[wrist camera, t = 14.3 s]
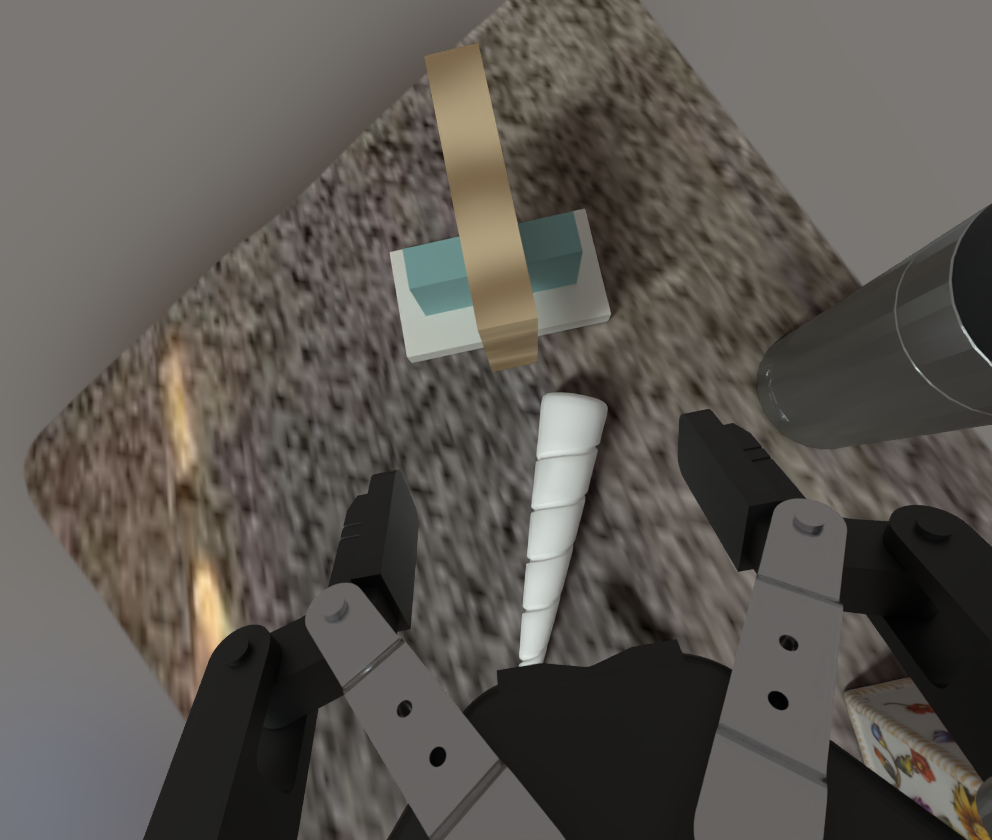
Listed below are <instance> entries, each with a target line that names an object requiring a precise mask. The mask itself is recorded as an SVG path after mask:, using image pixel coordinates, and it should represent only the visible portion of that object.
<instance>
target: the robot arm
mask: <svg viewBox="0 0 992 840" xmlns="http://www.w3.org/2000/svg"><path fill="white" fill-rule="evenodd" d="M757 391H758V397H759V401H760V403H761V406H762V408H763V411H764V413H765V414H766V416H767V417H768V419H769V420H770V422H771V423H772V424H773V425H774V426H775V427H776V428H777V429H778V430H779V431H780V432H781V433H782V434H784V435H786V436H787V437H789V438H790V439H792V440H793V441H795V442H798V443H800V444H803V445H805V446H809V447H814V448H819V449H837V448H843V447H849V446H856V445H862V444H869V443H877V442H883V441H890V440H896V439H903V438H909V437H915V436H922V435H928V434H935V433H941V432H947V431H954V430H960V429H967V428H973V427H979V426H985V425H992V204H990V205H989V206H987V207H985V208H984V209H982V210H981V211H979V212H978V213H976V214H974V215H973V216H971V217H970V218H968V219H967V220H965V221H964V222H962V223H961V224H959V225H957V226H956V227H954V228H953V229H951V230H949V231H948V232H946V233H945V234H943V235H942V236H940V237H939V238H937V239H935V240H934V241H932V242H931V243H930V244H928V245H927V246H925V247H924V248H922V249H920V250H919V251H917V252H916V253H914V254H913V255H911V256H909V257H908V258H906V259H905V260H903V261H902V262H900V263H899V264H897V265H895V266H894V267H892V268H891V269H889V270H888V271H886V272H885V273H883V274H881V275H880V276H878V277H877V278H875V279H874V280H872V281H870V282H869V283H867V284H866V285H864V286H863V287H861V288H860V289H858V290H856V291H855V292H853V293H852V294H850V295H849V296H847V297H845V298H844V299H842V300H841V301H839V302H838V303H836V304H835V305H833V306H831V307H830V308H828V309H827V310H825V311H824V312H822V313H821V314H819V315H817V316H816V317H814V318H812V319H811V320H809V321H808V322H806V323H805V324H803V325H801V326H800V327H798V328H797V329H795V330H794V331H792V332H791V333H789V334H788V335H786V336H785V337H783V338H782V339H780V340H779V341H777V342H776V343H775V344H774V345H773V346H772V347H771V348H770V349H769V350H768V351H767V353H766V354H765V356H764V358H763V360H762V362H761V364H760V367H759V371H758V374H757ZM678 463H679V467H680V471H681V473H682V476H683V478H684V480H685V481H686V483H687V485H688V487H689V488H690V490H691V492H692V493H693V495H694V497H695V499H696V500H697V502H698V504H699V505H700V507H701V509H702V511H703V512H704V514H705V516H706V517H707V519H708V521H709V523H710V524H711V526H712V528H713V529H714V531H715V533H716V535H717V536H718V538H719V540H720V541H721V543H722V545H723V547H724V548H725V550H726V552H727V553H728V555H729V557H730V559H731V560H732V562H733V564H734V565H735V567H736V569H737V571H738V572H739V571H745V570H751V569H754V570H755V572H756V573H757V576H756V580H755V584H754V587H753V591H752V595H751V599H750V603H749V607H748V611H747V615H746V619H745V623H744V627H743V631H742V634H741V638H740V642H739V646H738V650H737V654H736V658H735V662H734V666H733V670H732V669H730V668H728V667H727V666H725V665H723V664H720V663H718V662H716V661H714V660H711V659H707V658H704V657H701V656H697V655H692V654H685V653H682V651H681V649H680V646H679V644H678V641H677V639H676V640H670V641H664V642H658V643H653V644H647V645H641V646H635V647H631V648H629V649H627V650H625V651H623V652H620V653H618V654H616V655H614V656H612V657H610V658H608V659H606V660H604V661H601V662H599V663H597V664H595V665H593V666H590V667H578V666H567V665H556V664H546V663H538V664H532V665H526V666H520V667H515V668H509V669H503V670H497V679H498V685H496V686H494V687H492V688H490V689H489V690H487V691H486V692H484V693H483V694H481V695H480V696H479V697H477V698H476V699H475V700H474V701H473V702H472V703H471V704H470V705H469V706H468V707H467V708H466V709H465V710H464V711H463V713H462V712H461V711H460V709H459V708H458V707H457V706H456V704H455V703H454V702H453V701H452V699H451V698H450V697H449V696H448V694H447V693H446V692H445V691H444V689H443V688H442V687H441V686H440V684H439V683H438V682H437V681H436V679H435V678H434V677H433V676H432V674H431V673H430V672H429V671H428V669H427V668H426V667H425V666H424V664H423V663H422V662H421V661H420V659H419V658H418V657H417V656H416V654H415V653H414V652H413V651H412V649H411V648H410V647H409V646H408V644H407V643H406V642H405V641H404V640H403V639H400V638H399V637H398V636H397V632H398V631H404V630H409V629H411V616H412V604H413V591H414V578H415V565H416V553H417V540H418V515H417V511H416V507H415V504H414V502H413V500H412V497H411V495H410V492H409V490H408V488H407V485H406V483H405V480H404V478H403V476H402V473H401V472H400V471H399V470H394V471H389V472H384V473H378V474H374V475H372V477H371V481H370V485H369V490H368V494H364V495H359V496H357V497H356V499H355V500H354V502H353V503H352V504H351V506H350V507H349V509H348V510H347V514H346V518H345V522H344V528H343V530H342V534H341V541H340V542H339V546H338V550H337V554H336V558H335V562H334V566H333V570H332V574H331V578H330V582H329V586H328V588H327V589H325V590H324V591H322V592H321V593H320V594H319V595H318V596H317V597H316V598H315V599H314V600H313V602H312V603H311V604H310V606H309V608H308V610H307V613H306V615H305V616H303V617H302V618H300V619H298V620H296V621H294V622H292V623H290V624H288V625H286V626H284V627H281V628H279V629H277V630H275V631H273V632H271V633H270V632H269V631H268V630H267V629H266V628H265V627H263V626H261V625H248V626H244V627H242V628H240V629H237V630H236V631H234V632H232V633H231V634H230V635H228V636H227V637H226V638H225V639H224V640H223V641H222V642H221V643H220V644H219V645H218V646H217V647H216V649H215V650H214V652H213V653H212V655H211V657H210V659H209V662H208V665H207V667H206V670H205V673H204V675H203V678H202V681H201V684H200V686H199V689H198V692H197V695H196V697H195V700H194V703H193V705H192V708H191V711H190V714H189V716H188V719H187V722H186V724H185V727H184V730H183V733H182V735H181V738H180V741H179V743H178V746H177V749H176V752H175V754H174V757H173V760H172V762H171V765H170V768H169V771H168V773H167V776H166V779H165V781H164V784H163V787H162V790H161V793H160V795H159V798H158V801H157V803H156V806H155V809H154V812H153V814H152V817H151V820H150V823H149V825H148V828H147V831H146V833H145V836H144V839H143V840H297V837H298V831H299V825H300V819H301V812H302V806H303V800H304V794H305V788H306V782H307V775H308V769H309V763H310V757H311V751H312V745H313V738H314V732H315V726H316V720H317V714H318V708H320V707H322V706H324V705H326V704H328V703H330V702H332V701H333V700H335V699H337V698H339V697H341V696H343V695H345V697H346V699H347V701H348V702H349V704H350V706H351V707H352V709H353V711H354V712H355V714H356V716H357V717H358V719H359V721H360V723H361V724H362V726H363V728H364V729H365V731H366V733H367V734H368V736H369V738H370V739H371V741H372V743H373V744H374V746H375V748H376V749H377V751H378V753H379V754H380V756H381V758H382V759H383V761H384V763H385V764H386V766H387V768H388V769H389V771H390V773H391V775H392V776H393V778H394V780H395V781H396V783H397V785H398V786H399V788H400V790H401V791H402V793H403V795H404V796H405V798H406V800H407V801H408V804H407V806H406V808H405V810H404V811H403V813H402V815H401V816H400V818H399V820H398V822H397V823H396V825H395V827H394V828H393V830H392V832H391V834H390V835H389V837H388V839H387V840H967V839H966V838H965V837H963V836H962V835H960V834H959V833H958V832H956V831H955V830H954V829H952V828H951V827H949V826H948V825H947V824H945V823H944V822H943V821H941V820H940V819H938V818H937V817H936V816H934V815H933V814H932V813H930V812H929V811H927V810H926V809H925V808H923V807H922V806H921V805H919V804H918V803H916V802H915V801H914V800H912V799H911V798H910V797H908V796H907V795H905V794H904V793H903V792H901V791H900V790H899V789H897V788H896V787H894V786H893V785H892V784H890V783H889V782H888V781H886V780H885V779H883V778H882V777H881V776H879V775H878V774H877V773H875V772H874V771H872V770H871V769H870V768H868V767H867V766H866V765H864V764H863V763H861V762H860V761H859V760H857V759H856V758H855V757H853V756H852V755H850V754H849V753H848V752H846V751H845V750H844V749H842V748H841V747H839V746H838V745H837V744H835V743H834V742H833V741H831V740H830V731H831V722H832V712H833V703H834V693H835V684H836V674H837V665H838V655H839V645H840V636H841V626H842V617H843V611H844V612H852V613H860V614H866V615H867V616H868V618H869V619H870V621H871V622H872V624H873V625H874V626H875V628H876V629H877V631H878V632H879V634H880V635H881V636H882V638H883V639H884V641H885V642H886V644H887V645H888V646H889V648H890V649H891V651H892V652H893V654H894V655H895V656H896V658H897V659H898V661H899V662H900V664H901V665H902V666H903V668H904V669H905V671H906V672H907V674H908V675H909V676H910V678H911V679H912V681H913V682H914V684H915V685H916V686H917V688H918V689H919V691H920V692H921V694H922V695H923V696H924V698H925V699H926V701H927V702H928V704H929V705H930V706H931V708H932V709H933V711H934V712H935V714H936V715H937V716H938V718H939V719H940V721H941V722H942V724H943V725H944V726H945V728H946V729H947V731H948V732H949V734H950V735H951V736H952V738H953V739H954V741H955V742H956V744H957V745H958V746H959V748H960V749H961V751H962V752H963V754H964V755H965V756H966V758H967V759H968V761H969V762H970V764H971V765H972V766H973V768H974V769H975V771H976V772H977V774H978V775H979V776H980V778H981V779H982V781H983V783H982V784H981V785H980V787H979V789H978V790H977V794H976V806H977V811H978V814H979V817H980V819H981V822H982V823H983V825H984V827H985V829H986V831H987V833H988V835H989V837H990V839H991V840H992V547H991V546H990V545H989V544H988V543H987V542H986V541H985V540H984V539H983V538H982V537H981V536H980V535H979V534H977V533H976V532H975V531H974V530H973V529H972V528H971V527H970V526H969V525H968V524H967V523H965V522H964V521H963V520H961V519H960V518H958V517H957V516H955V515H953V514H951V513H948V512H946V511H944V510H941V509H938V508H934V507H930V506H923V505H908V506H904V507H901V508H898V509H897V510H895V511H894V512H893V513H892V515H891V517H890V519H889V521H874V520H859V519H848V518H843V517H841V515H840V514H839V513H837V512H836V511H835V510H834V509H832V508H831V507H829V506H827V505H825V504H823V503H820V502H818V501H814V500H809V499H806V498H805V497H804V496H803V494H802V493H801V492H800V491H799V490H798V489H797V487H796V486H795V485H794V484H793V483H792V482H791V480H790V479H789V478H788V477H787V476H786V474H785V473H784V472H783V471H782V470H781V469H780V467H779V466H778V465H777V464H776V463H775V461H774V460H773V459H771V458H770V456H769V454H768V453H767V452H766V451H765V450H764V449H762V448H761V445H760V444H759V443H758V441H757V440H756V439H755V438H754V437H753V436H752V434H751V433H749V432H748V431H746V430H744V429H742V428H741V427H739V426H737V425H735V424H734V423H731V424H726V425H723V424H722V423H721V422H720V420H719V419H718V418H717V417H716V415H715V414H714V413H713V412H712V411H711V410H710V409H706V410H701V411H696V412H691V413H686V414H682V415H681V416H680V418H679V437H678Z"/></svg>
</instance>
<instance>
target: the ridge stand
mask: <svg viewBox="0 0 992 840" xmlns="http://www.w3.org/2000/svg"><path fill="white" fill-rule="evenodd" d="M517 224H518V228H519V233H520V237H521V242H522V246H523V251H524V256H525V260H526V265H527V269H528V274H529V279H530V283H531V288H532V292H533V297H534V301H535V306H536V311H537V315H538V336H541V335H545V334H550V333H555V332H560V331H564V330H569V329H574V328H578V327H583V326H588V325H593V324H597V323H602V322H607V321H608V320H609V318H610V315H611V312H610V308H609V304H608V300H607V296H606V292H605V288H604V283H603V279H602V275H601V271H600V267H599V263H598V259H597V255H596V251H595V247H594V243H593V239H592V235H591V231H590V227H589V223H588V219H587V214H586V210H585V209H581V210H576V211H571V212H566V213H562V214H557V215H553V216H549V217H544V218H540V219H535V220H531V221H526V222H522V223H517ZM390 257H391V263H392V269H393V275H394V281H395V287H396V293H397V299H398V305H399V311H400V317H401V323H402V329H403V335H404V341H405V347H406V353H407V358H408V359H409V360H410V361H411V362H412V363H413V362H418V361H423V360H428V359H432V358H437V357H442V356H446V355H451V354H456V353H461V352H465V351H470V350H475V349H479V348H484V347H483V344H482V341H481V338H480V335H479V332H478V329H477V324H476V319H475V314H474V308H473V303H472V298H471V293H470V288H469V283H468V278H467V272H466V267H465V262H464V257H463V252H462V247H461V242H460V237H455V238H451V239H446V240H442V241H437V242H433V243H428V244H424V245H419V246H415V247H411V248H406V249H402V250H398V251H394V252H390Z"/></svg>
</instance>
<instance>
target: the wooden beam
mask: <svg viewBox="0 0 992 840" xmlns="http://www.w3.org/2000/svg"><path fill="white" fill-rule="evenodd" d="M425 62H426V66H427V72H428V77H429V82H430V88H431V93H432V98H433V103H434V108H435V113H436V118H437V123H438V129H439V134H440V139H441V144H442V149H443V154H444V159H445V165H446V170H447V175H448V180H449V185H450V190H451V195H452V201H453V206H454V211H455V216H456V221H457V226H458V231H459V237H460V242H461V247H462V252H463V257H464V262H465V267H466V272H467V278H468V283H469V288H470V293H471V298H472V303H473V308H474V314H475V319H476V324H477V329H478V332H479V335H480V338H481V341H482V344H483V347H484V349H485V352H486V355H487V358H488V361H489V364H490V366H491V369H492V372H495V371H500V370H504V369H509V368H514V367H519V366H524V365H528V364H533V363H538V315H537V311H536V306H535V301H534V297H533V292H532V288H531V283H530V279H529V274H528V269H527V265H526V260H525V256H524V251H523V246H522V242H521V237H520V233H519V228H518V224H517V219H516V214H515V210H514V205H513V201H512V196H511V192H510V187H509V182H508V178H507V173H506V169H505V164H504V159H503V155H502V150H501V146H500V141H499V137H498V132H497V127H496V123H495V118H494V114H493V109H492V105H491V100H490V95H489V91H488V86H487V82H486V77H485V72H484V68H483V63H482V59H481V54H480V50H479V45H478V43H476V44H472V45H468V46H464V47H460V48H456V49H452V50H448V51H444V52H439V53H436V54H431V55H427V56H425Z"/></svg>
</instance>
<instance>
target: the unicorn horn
mask: <svg viewBox="0 0 992 840" xmlns="http://www.w3.org/2000/svg"><path fill="white" fill-rule="evenodd" d="M607 410H608V407H607V405H606V403H604V402H603V401H601V400H599V399H596V398H593V397H589V396H585V395H580V394H574V393H564V392H554V393H547V394H545V395H544V396H543V398H542V403H541V413H540V424H539V435H538V446H537V458H538V460H539V461H537V462H536V466H535V477H534V487H533V496H532V505H531V507H532V508H533V509H534V512H532V513H531V518H530V529H529V540H528V551H527V557H528V558H529V559H530V563H527V564H526V573H525V586H524V598H523V607H524V608H525V609H526V613H523V614H522V624H521V639H520V654H519V657H520V659H521V660H522V661H523V662H522V663H520V664H519V667H520V666H526V665H532V664H538V663H543V661H544V657H545V654H546V650H547V643H548V642H549V639H550V635H551V631H552V628H553V624H554V620H555V616H556V613H557V609H558V605H559V601H560V596H561V592H562V590H563V586H564V582H565V578H566V574H567V571H568V567H569V563H570V559H571V555H572V551H573V543H574V541H575V539H576V535H577V531H578V527H579V523H580V520H581V516H582V512H583V508H584V504H585V494H586V493H587V492H588V488H589V484H590V480H591V476H592V472H593V468H594V464H595V460H596V456H597V452H598V450H597V448H596V447H595V446H596V445H598V444H600V440H601V436H602V432H603V428H604V424H605V421H606V417H607Z"/></svg>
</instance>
